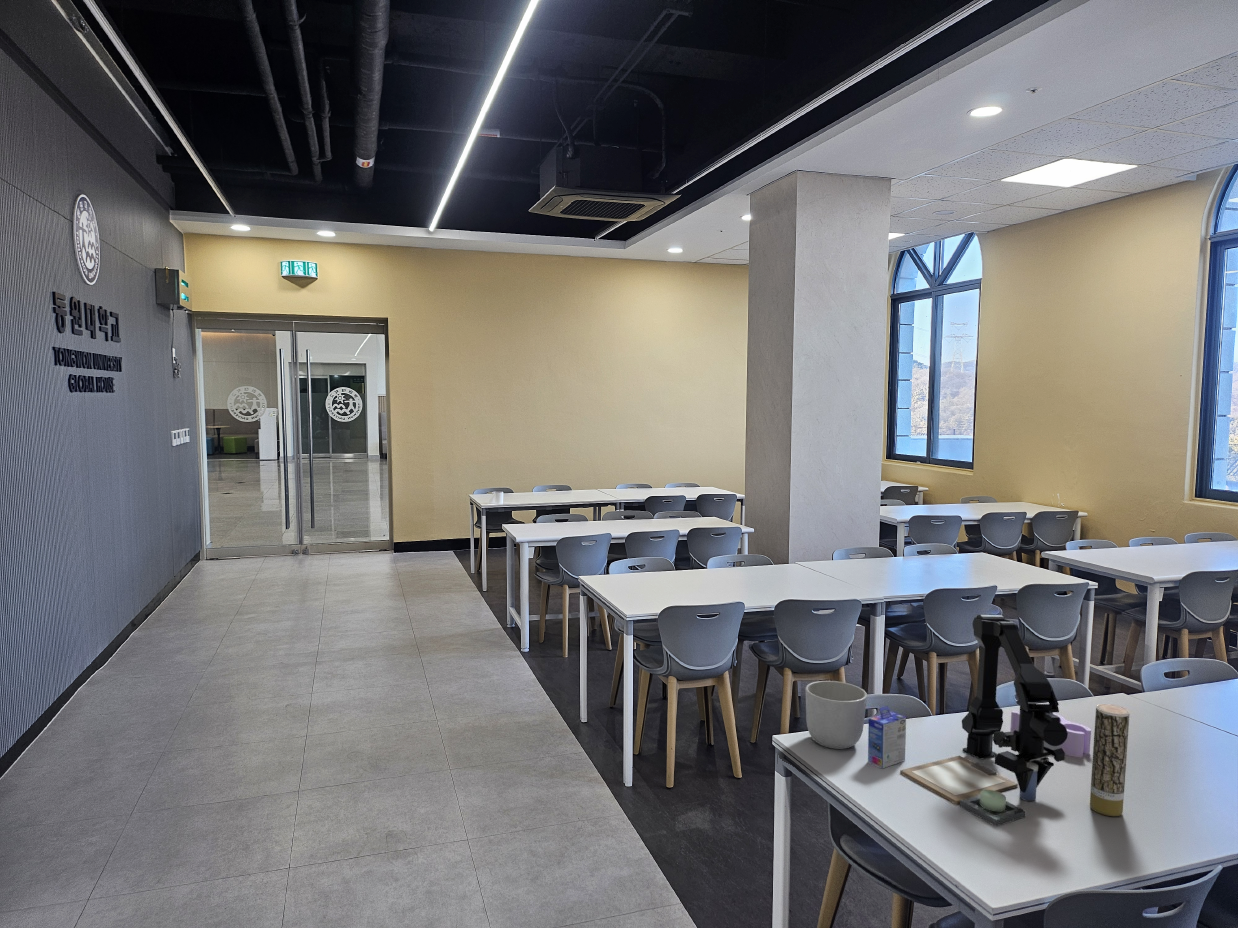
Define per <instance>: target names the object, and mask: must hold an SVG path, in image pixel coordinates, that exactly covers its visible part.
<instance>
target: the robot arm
mask: <svg viewBox="0 0 1238 928" xmlns="http://www.w3.org/2000/svg"><path fill="white" fill-rule="evenodd" d="M972 629H973V636H974V637H975V640H976V641H977V643H978V644H979V645H978V647H979V650H978V651H979V652H978V665H977V668H978V669H977V683H976V696H975V697H974V698H973V699H972V701H971V702H970V704H969V709H968V713H966V715H965V716H964V717H963V718H962V719H961V728H962V729H963V730H964V731H965V732H966V733H967V737H966V747H964V748H962V752H965V753H967V754H969V755H970V756H973V757H976V758H977V759H980V760H984V759H988V758H992V757H994V765H996V766H999V767H1000V768H1003V769H1005V770H1007V771H1009V772H1011V773H1014V776H1015V778H1016V781H1017V782H1016V783H1017V784H1018V788H1019V792H1020V791H1022V792H1025V791H1026V789H1027V787H1028V784H1029V782H1030V779H1031V777H1032V774H1033V771H1034V770H1033V769H1031V768H1029V764H1030V762H1033V763H1036V764H1037V765H1038V771H1037V787H1038V786H1039V785H1040V784H1041V782H1042V781H1043V779H1044V777H1046V776H1047V774H1048V773H1049V771H1050V769H1051V768H1053V767H1054V765H1055V763H1054V762H1052V761H1050V758H1049V757H1050V756H1053V759H1054V761H1055V762H1057V763H1058V762H1062V761H1065V757H1066V754H1065V752H1064V751H1063V749H1062V748H1061V747H1058V746H1059V745H1061V744H1063V743H1064V742H1065V741H1066V739H1067V736H1068V732H1067V729H1066V727H1065V726H1064V725H1063V724H1062V723H1060V717H1058V716H1057V715H1054V714H1053V713H1060V707H1059V702H1058V699H1057V697H1056V694H1055V691H1054V688H1053V685H1052V684H1051V682H1050V681H1049V679H1048V678H1047V677H1046V674H1045V673H1044V672H1042V671H1041V670H1040V669H1038V668H1037V667H1036V665H1034V662H1033V660H1032V657H1031V656H1030V654H1029V652H1028V649H1027V648H1026V645H1025V643H1024V641H1023V638H1022V637H1021V635H1020V632H1019V631H1020V629H1019V625H1018V624H1017V623H1016V622H1013V620H1011V619H1010V620H1009V619H1005V617H1004V616H1003V615H1001V614H978V615H976V616H974V618H973V620H972ZM1000 648H1003V650H1004V653H1005V655H1006V656H1007V658H1008V661H1009V665H1010V666H1011V668H1012V670H1013V673H1014V676H1015V677H1014V679H1013V686H1014V690H1015V694H1016V697H1017V699H1018V700H1017V701H1016V704H1017V705H1018V706H1019V712H1020V714H1019V729H1017V730H1014V732H1010V731H1004V730H1002V729H1003V728H1002V727H1003V723H1004V719H1003V715H1004V710H1003V709H1002V708H1001V707H1000V706H999V703H998V702H997V688H998V686H997V685H998V672H999V671H998V670H999V669H998V668H999V655H1000V652H999V651H1000ZM993 744H994V745H995V746H998V748H999V749H1000V748H1010V751H1009V750H1006V751H1002V752H998V753H996V752H995V751H993ZM1011 751H1013V752H1011ZM1014 752H1016V753H1017V754H1016V753H1014ZM1038 788H1039V787H1038Z"/></svg>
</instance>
